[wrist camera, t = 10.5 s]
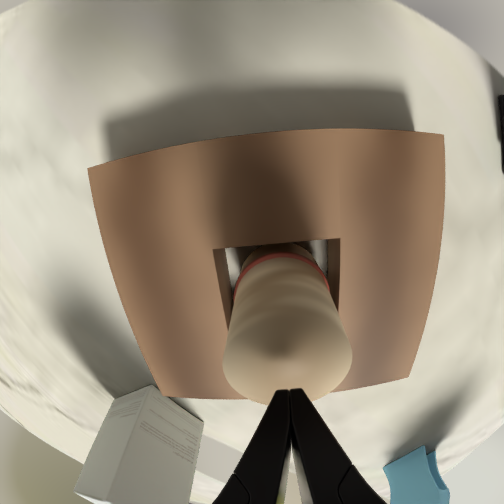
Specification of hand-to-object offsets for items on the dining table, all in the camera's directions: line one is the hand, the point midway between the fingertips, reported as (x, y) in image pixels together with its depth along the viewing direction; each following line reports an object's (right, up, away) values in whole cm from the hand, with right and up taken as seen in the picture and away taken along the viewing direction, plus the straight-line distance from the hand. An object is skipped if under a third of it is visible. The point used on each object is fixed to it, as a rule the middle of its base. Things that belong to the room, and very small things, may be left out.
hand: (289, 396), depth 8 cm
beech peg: (0, +3, +9) cm, 9 cm away
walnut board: (0, +3, +9) cm, 9 cm away
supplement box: (-11, -12, +15) cm, 22 cm away
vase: (+24, -29, +20) cm, 43 cm away
